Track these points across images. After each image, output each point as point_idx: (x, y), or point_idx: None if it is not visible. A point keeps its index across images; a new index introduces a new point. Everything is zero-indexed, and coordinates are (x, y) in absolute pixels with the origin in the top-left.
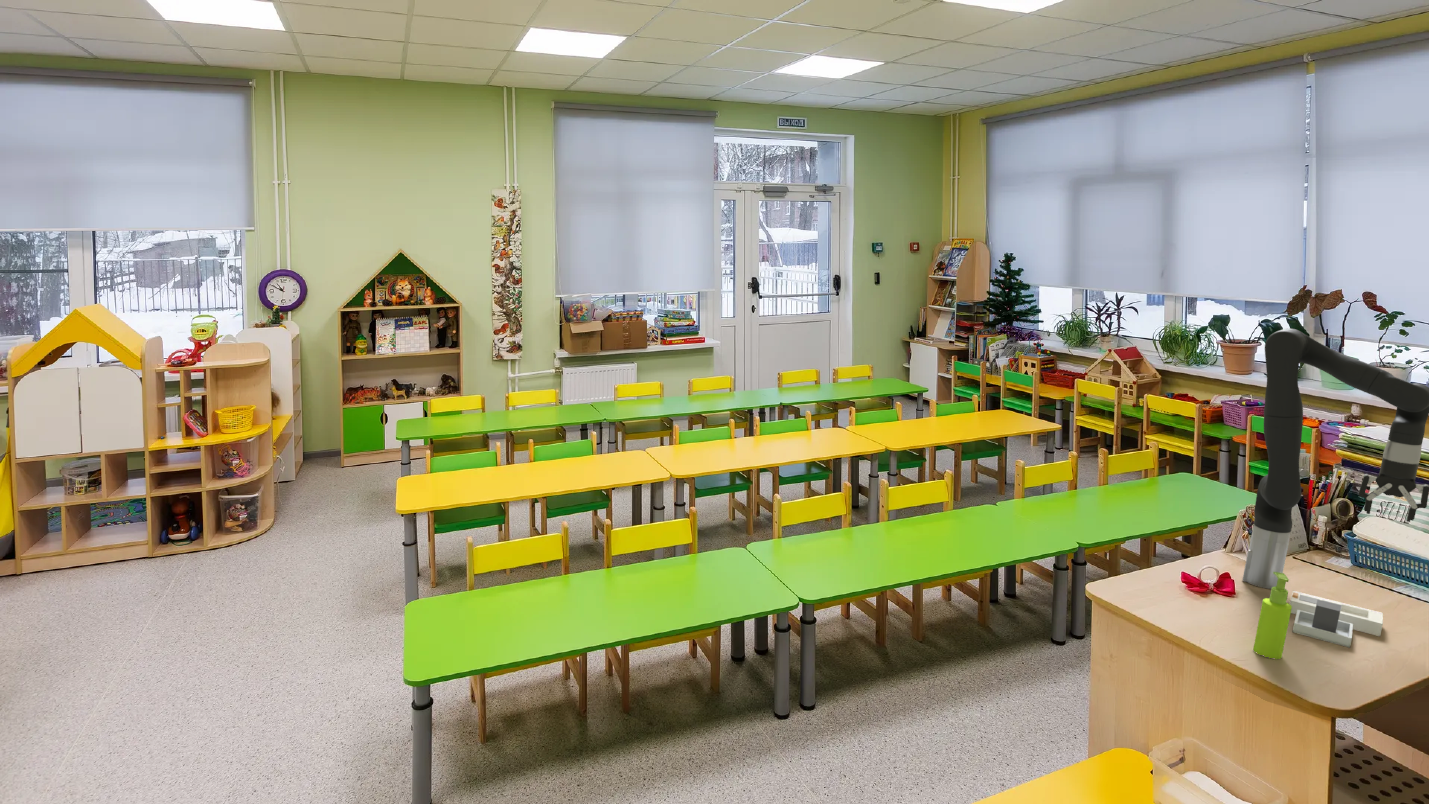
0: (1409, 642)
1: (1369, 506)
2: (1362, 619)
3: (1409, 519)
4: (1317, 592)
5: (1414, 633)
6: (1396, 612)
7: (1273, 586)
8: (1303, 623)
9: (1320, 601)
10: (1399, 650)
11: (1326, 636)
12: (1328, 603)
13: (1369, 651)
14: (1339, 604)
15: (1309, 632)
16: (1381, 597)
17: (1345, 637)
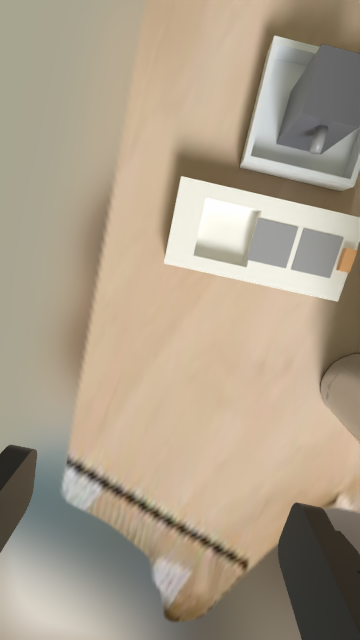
0: (128, 185)
1: (350, 577)
2: (220, 185)
3: (6, 459)
4: (248, 392)
5: (107, 252)
6: (118, 361)
7: (344, 360)
8: (340, 146)
9: (355, 111)
10: (159, 114)
11: None
12: (335, 106)
13: (226, 58)
14: (251, 260)
15: None
16: (129, 431)
17: (286, 39)
